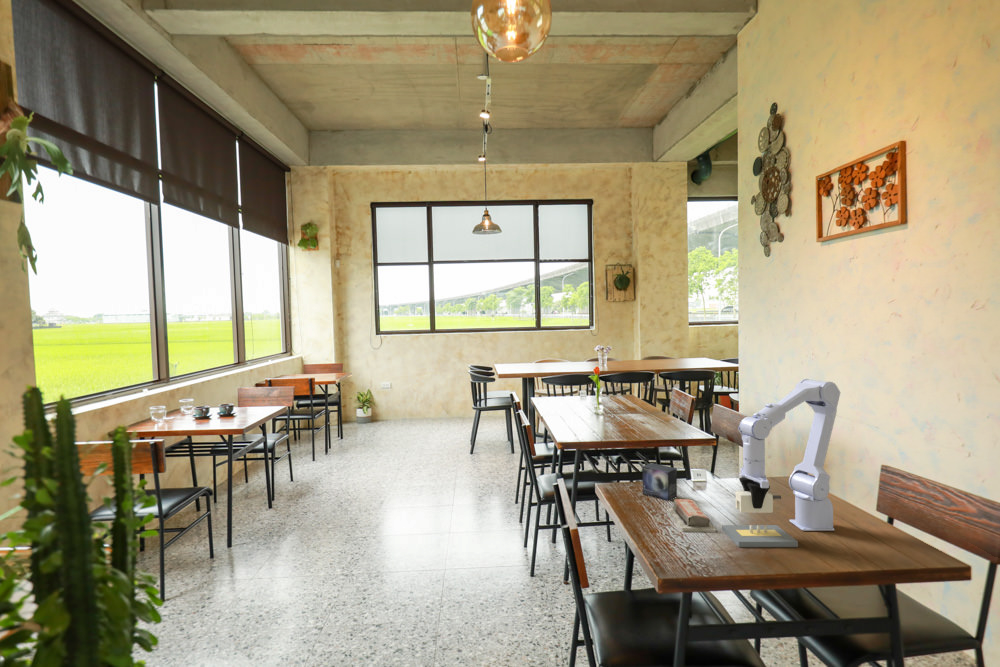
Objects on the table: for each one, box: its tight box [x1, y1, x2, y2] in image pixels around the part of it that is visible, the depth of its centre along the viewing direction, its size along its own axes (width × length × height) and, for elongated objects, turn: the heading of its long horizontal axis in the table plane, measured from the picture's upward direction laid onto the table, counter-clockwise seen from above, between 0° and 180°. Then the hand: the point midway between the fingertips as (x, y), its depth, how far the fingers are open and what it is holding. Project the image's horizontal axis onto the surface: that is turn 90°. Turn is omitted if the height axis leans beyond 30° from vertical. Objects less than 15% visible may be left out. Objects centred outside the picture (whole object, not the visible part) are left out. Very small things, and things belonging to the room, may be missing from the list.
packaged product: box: [667, 498, 717, 533], centre depth 167 cm, size 18×5×10 cm
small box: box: [642, 462, 678, 502], centre depth 191 cm, size 11×6×10 cm, turn 43°
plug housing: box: [735, 490, 782, 514], centre depth 155 cm, size 12×4×5 cm, turn 87°
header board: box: [721, 524, 799, 548], centre depth 152 cm, size 16×12×4 cm
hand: (754, 505), depth 155 cm, fingers closed on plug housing, 4 cm apart
